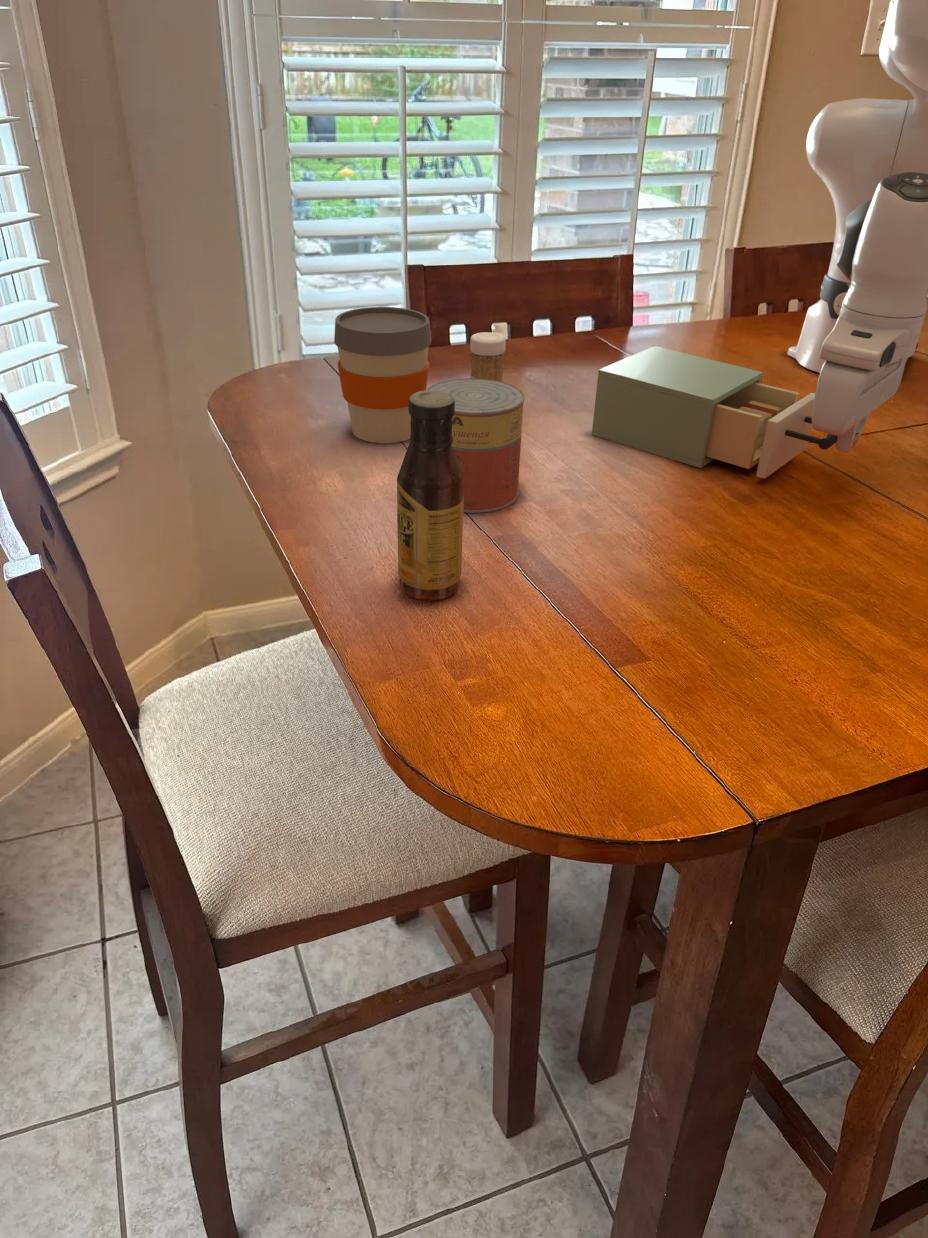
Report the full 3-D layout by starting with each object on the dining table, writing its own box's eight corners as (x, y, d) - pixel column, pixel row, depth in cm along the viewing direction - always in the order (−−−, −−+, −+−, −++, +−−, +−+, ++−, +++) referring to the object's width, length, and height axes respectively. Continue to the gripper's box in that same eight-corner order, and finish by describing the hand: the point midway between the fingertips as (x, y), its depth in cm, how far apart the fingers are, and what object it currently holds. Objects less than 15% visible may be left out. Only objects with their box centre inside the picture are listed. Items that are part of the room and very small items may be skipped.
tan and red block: (745, 428, 124) (751, 399, 121) (775, 436, 121) (782, 407, 119) (715, 448, 118) (720, 418, 116) (746, 457, 116) (752, 426, 113)
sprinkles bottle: (507, 437, 124) (513, 338, 117) (479, 444, 122) (483, 343, 115) (488, 426, 127) (492, 329, 120) (461, 432, 125) (463, 333, 118)
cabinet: (750, 436, 127) (763, 371, 122) (700, 468, 117) (713, 399, 112) (645, 407, 135) (654, 345, 130) (591, 434, 126) (598, 369, 121)
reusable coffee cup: (450, 431, 126) (451, 320, 117) (382, 456, 118) (379, 339, 110) (387, 407, 133) (385, 301, 125) (320, 429, 125) (312, 318, 117)
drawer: (850, 459, 119) (865, 405, 115) (809, 492, 110) (824, 435, 106) (701, 418, 130) (710, 367, 126) (654, 445, 121) (662, 391, 117)
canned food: (411, 480, 112) (410, 384, 106) (494, 466, 116) (498, 373, 109) (445, 519, 104) (447, 418, 97) (534, 504, 107) (541, 405, 101)
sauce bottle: (397, 572, 94) (394, 382, 83) (458, 571, 94) (463, 382, 83) (399, 607, 88) (395, 408, 77) (464, 605, 89) (469, 408, 78)
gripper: (879, 310, 112) (850, 417, 120) (815, 347, 99) (787, 465, 107) (932, 320, 109) (899, 430, 117) (874, 359, 96) (841, 481, 103)
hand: (845, 447), depth 112 cm, fingers closed, pressing on drawer
